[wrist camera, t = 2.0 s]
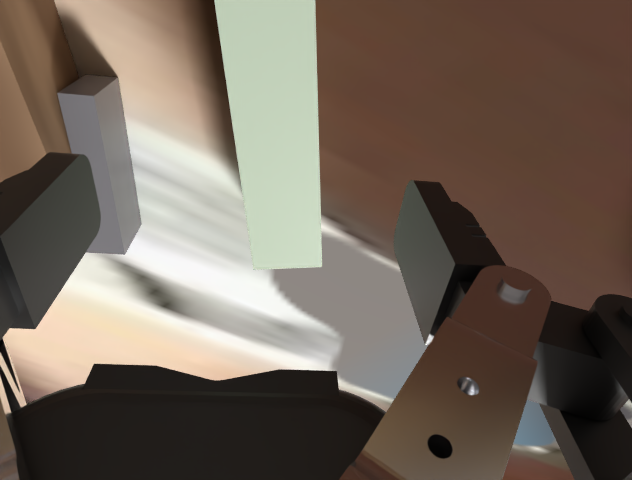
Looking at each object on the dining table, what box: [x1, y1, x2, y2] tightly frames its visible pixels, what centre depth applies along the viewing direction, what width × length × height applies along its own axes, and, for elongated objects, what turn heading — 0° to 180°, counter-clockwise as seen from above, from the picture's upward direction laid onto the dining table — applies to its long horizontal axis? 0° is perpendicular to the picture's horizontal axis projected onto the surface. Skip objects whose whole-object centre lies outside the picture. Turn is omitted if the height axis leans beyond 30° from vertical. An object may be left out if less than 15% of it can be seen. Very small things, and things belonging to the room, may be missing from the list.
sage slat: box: [214, 0, 322, 270], centre depth 19 cm, size 4×16×5 cm, turn 2°
